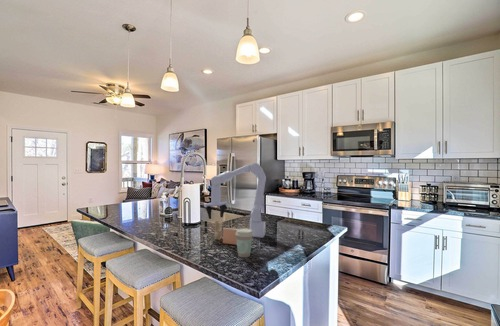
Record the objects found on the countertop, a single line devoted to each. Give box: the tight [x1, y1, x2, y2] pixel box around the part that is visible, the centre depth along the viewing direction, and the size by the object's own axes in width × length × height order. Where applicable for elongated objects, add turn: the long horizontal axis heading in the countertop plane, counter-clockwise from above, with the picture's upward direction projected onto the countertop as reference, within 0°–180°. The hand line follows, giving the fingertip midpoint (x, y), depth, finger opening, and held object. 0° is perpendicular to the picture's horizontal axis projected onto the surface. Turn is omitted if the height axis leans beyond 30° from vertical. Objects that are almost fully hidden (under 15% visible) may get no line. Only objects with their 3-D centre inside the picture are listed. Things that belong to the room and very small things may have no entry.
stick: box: [214, 220, 223, 241], centre depth 141 cm, size 3×3×10 cm
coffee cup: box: [235, 227, 253, 258], centre depth 117 cm, size 9×8×12 cm
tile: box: [222, 227, 238, 246], centre depth 133 cm, size 8×2×8 cm, turn 75°
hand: (215, 217), depth 148 cm, fingers open, 7 cm apart
